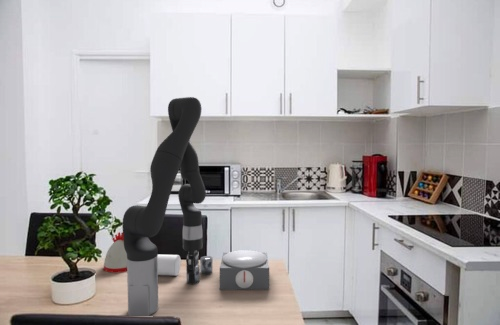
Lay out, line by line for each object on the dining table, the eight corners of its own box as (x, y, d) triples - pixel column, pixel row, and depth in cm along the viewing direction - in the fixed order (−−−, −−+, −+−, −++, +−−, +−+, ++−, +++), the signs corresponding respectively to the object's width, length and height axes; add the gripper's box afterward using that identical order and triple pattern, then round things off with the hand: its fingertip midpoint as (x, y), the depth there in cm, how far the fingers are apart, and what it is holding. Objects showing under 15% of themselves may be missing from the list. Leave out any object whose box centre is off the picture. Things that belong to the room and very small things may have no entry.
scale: (269, 290, 118) (269, 266, 117) (219, 290, 118) (219, 266, 117) (266, 271, 135) (266, 250, 135) (223, 271, 135) (223, 250, 135)
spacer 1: (198, 284, 123) (198, 268, 123) (185, 284, 123) (185, 268, 123) (200, 278, 128) (200, 263, 128) (187, 278, 128) (187, 263, 128)
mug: (174, 278, 128) (174, 258, 128) (150, 277, 129) (150, 258, 129) (183, 267, 140) (183, 249, 140) (161, 266, 141) (161, 248, 141)
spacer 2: (211, 274, 132) (211, 260, 132) (199, 274, 132) (199, 260, 132) (213, 270, 137) (213, 256, 137) (201, 270, 137) (201, 256, 137)
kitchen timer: (126, 273, 134) (125, 237, 133) (96, 271, 136) (96, 235, 136) (144, 262, 147) (143, 229, 147) (116, 259, 150) (116, 227, 149)
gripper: (199, 241, 118) (200, 287, 119) (204, 231, 132) (205, 272, 133) (178, 241, 118) (179, 287, 119) (186, 231, 132) (187, 272, 133)
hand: (193, 279), depth 126 cm, fingers closed on spacer 1, 5 cm apart
